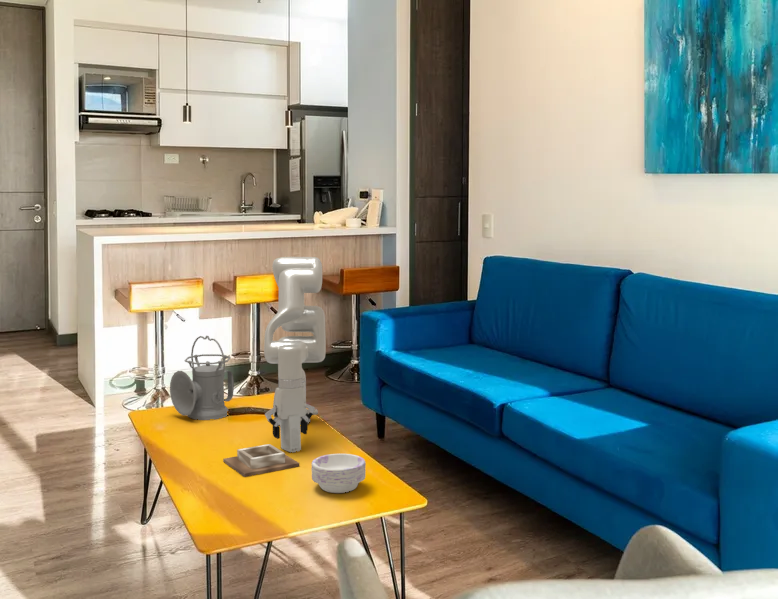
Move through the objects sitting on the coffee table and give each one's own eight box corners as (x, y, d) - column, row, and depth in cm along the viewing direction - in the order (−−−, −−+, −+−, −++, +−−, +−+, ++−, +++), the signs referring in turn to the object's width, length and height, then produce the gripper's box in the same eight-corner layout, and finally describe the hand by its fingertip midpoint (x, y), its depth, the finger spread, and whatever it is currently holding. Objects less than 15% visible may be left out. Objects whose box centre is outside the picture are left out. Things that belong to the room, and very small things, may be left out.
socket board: (276, 452, 261) (276, 440, 260) (299, 466, 247) (299, 453, 247) (223, 461, 251) (223, 449, 250) (244, 477, 238) (244, 463, 237)
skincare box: (301, 450, 262) (301, 414, 261) (289, 453, 260) (289, 416, 258) (291, 446, 267) (291, 410, 266) (279, 448, 264) (279, 412, 263)
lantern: (167, 414, 303) (165, 335, 299) (216, 404, 319) (214, 328, 315) (199, 426, 289) (197, 343, 285) (249, 414, 305) (248, 335, 301)
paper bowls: (314, 478, 238) (314, 451, 237) (366, 479, 237) (367, 452, 236) (308, 497, 222) (308, 469, 221) (363, 498, 222) (363, 470, 221)
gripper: (308, 378, 268) (308, 429, 270) (260, 384, 259) (260, 436, 261) (319, 382, 262) (319, 434, 264) (270, 388, 253) (270, 442, 254)
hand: (290, 435), depth 262 cm, fingers open, 9 cm apart
